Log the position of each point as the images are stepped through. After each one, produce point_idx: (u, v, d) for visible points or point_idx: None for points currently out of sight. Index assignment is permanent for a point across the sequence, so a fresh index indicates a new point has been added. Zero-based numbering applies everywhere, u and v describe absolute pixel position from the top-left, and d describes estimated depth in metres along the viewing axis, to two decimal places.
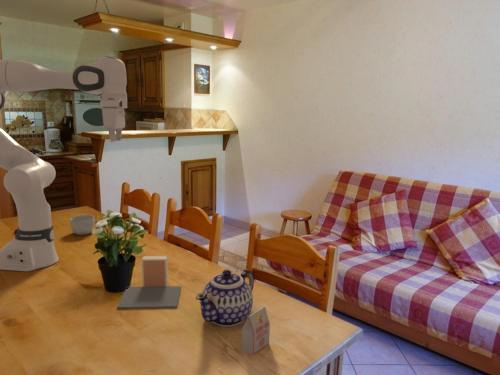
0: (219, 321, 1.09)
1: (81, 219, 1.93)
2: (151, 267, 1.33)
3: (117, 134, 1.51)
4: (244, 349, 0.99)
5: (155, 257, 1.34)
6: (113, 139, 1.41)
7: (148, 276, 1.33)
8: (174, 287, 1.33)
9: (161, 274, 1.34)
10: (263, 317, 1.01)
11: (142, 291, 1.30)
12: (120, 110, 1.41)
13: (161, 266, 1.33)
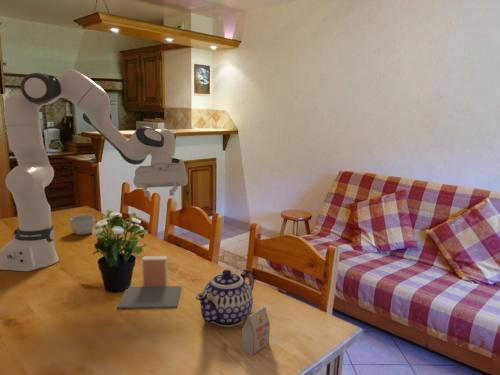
0: (219, 321, 1.09)
1: (81, 219, 1.93)
2: (151, 267, 1.33)
3: None
4: (244, 349, 0.99)
5: (155, 257, 1.34)
6: None
7: (148, 276, 1.33)
8: (174, 287, 1.33)
9: (161, 274, 1.34)
10: (263, 317, 1.01)
11: (142, 291, 1.30)
12: None
13: (161, 266, 1.33)
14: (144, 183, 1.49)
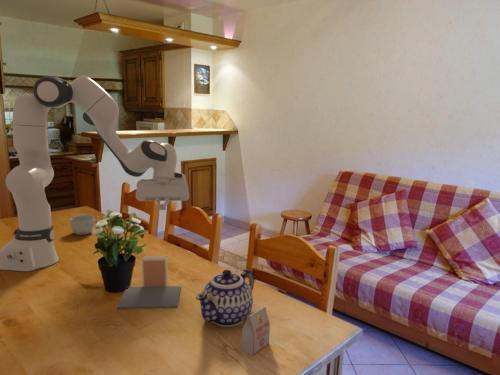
0: (219, 321, 1.09)
1: (81, 219, 1.93)
2: (151, 267, 1.33)
3: None
4: (244, 349, 0.99)
5: (155, 257, 1.34)
6: (165, 207, 1.50)
7: (148, 276, 1.33)
8: (174, 287, 1.33)
9: (161, 274, 1.34)
10: (263, 317, 1.01)
11: (142, 291, 1.30)
12: None
13: (161, 266, 1.33)
14: (146, 196, 1.50)
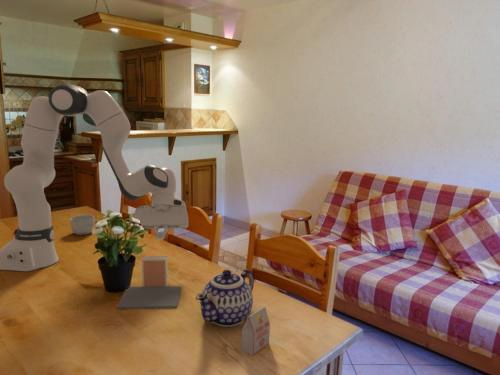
0: (219, 321, 1.09)
1: (81, 219, 1.93)
2: (151, 267, 1.33)
3: (157, 231, 1.47)
4: (244, 349, 0.99)
5: (155, 257, 1.34)
6: (164, 236, 1.47)
7: (148, 276, 1.33)
8: (174, 287, 1.33)
9: (161, 274, 1.34)
10: (263, 317, 1.01)
11: (142, 291, 1.30)
12: None
13: (161, 266, 1.33)
14: (145, 224, 1.47)
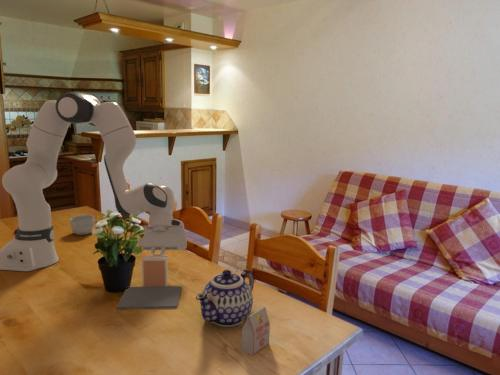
0: (219, 321, 1.09)
1: (81, 219, 1.93)
2: (151, 267, 1.33)
3: (154, 254, 1.41)
4: (244, 349, 0.99)
5: (155, 257, 1.34)
6: None
7: (148, 276, 1.33)
8: (174, 287, 1.33)
9: (161, 274, 1.34)
10: (263, 317, 1.01)
11: (142, 291, 1.30)
12: None
13: (161, 266, 1.33)
14: None
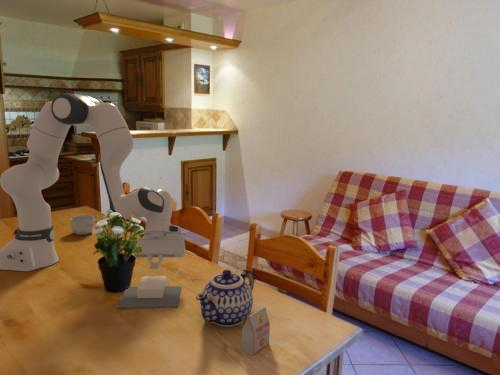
0: (219, 321, 1.09)
1: (81, 219, 1.93)
2: None
3: (151, 261, 1.33)
4: (244, 349, 0.99)
5: (150, 292, 1.24)
6: (158, 266, 1.33)
7: None
8: (174, 287, 1.33)
9: None
10: (263, 317, 1.01)
11: None
12: None
13: None
14: (137, 254, 1.33)
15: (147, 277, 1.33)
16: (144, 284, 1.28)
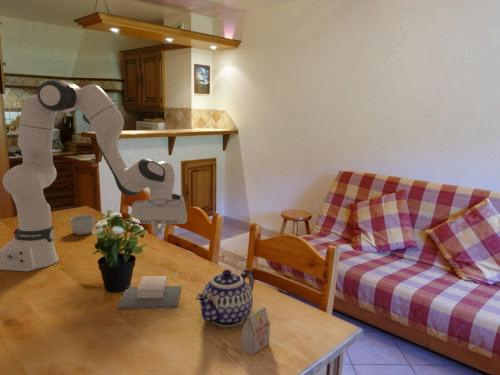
0: (219, 321, 1.09)
1: (81, 219, 1.93)
2: None
3: (155, 227, 1.42)
4: (244, 349, 0.99)
5: (150, 292, 1.24)
6: None
7: None
8: (174, 287, 1.33)
9: None
10: (263, 317, 1.01)
11: None
12: None
13: None
14: (142, 219, 1.42)
15: (147, 277, 1.33)
16: (144, 284, 1.28)
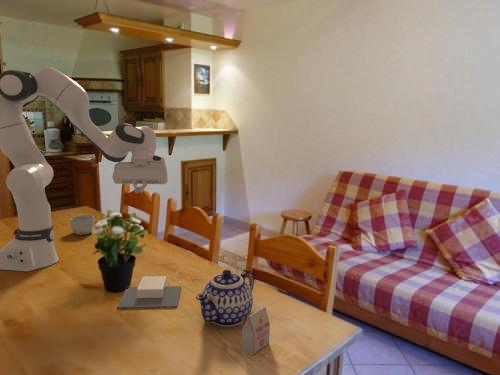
0: (219, 321, 1.09)
1: (81, 219, 1.93)
2: None
3: None
4: (244, 349, 0.99)
5: (150, 292, 1.24)
6: (142, 190, 1.47)
7: None
8: (174, 287, 1.33)
9: None
10: (263, 317, 1.01)
11: None
12: None
13: None
14: (123, 179, 1.47)
15: (147, 277, 1.33)
16: (144, 284, 1.28)
